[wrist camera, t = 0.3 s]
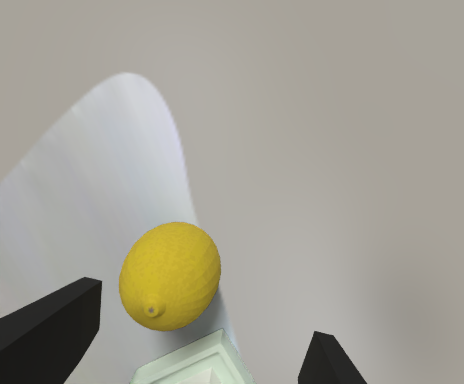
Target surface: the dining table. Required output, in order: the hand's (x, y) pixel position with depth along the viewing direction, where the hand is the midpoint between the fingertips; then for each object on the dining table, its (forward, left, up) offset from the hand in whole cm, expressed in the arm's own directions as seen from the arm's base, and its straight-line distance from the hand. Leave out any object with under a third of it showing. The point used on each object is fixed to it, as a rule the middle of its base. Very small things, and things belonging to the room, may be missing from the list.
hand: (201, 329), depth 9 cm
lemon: (-3, 0, -11) cm, 11 cm away
